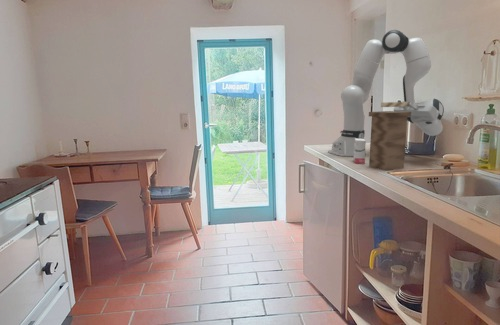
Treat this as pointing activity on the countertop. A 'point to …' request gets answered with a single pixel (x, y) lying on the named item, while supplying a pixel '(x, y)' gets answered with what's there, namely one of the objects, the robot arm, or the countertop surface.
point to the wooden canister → (388, 139)
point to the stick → (394, 104)
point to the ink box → (359, 151)
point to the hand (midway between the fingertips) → (406, 102)
